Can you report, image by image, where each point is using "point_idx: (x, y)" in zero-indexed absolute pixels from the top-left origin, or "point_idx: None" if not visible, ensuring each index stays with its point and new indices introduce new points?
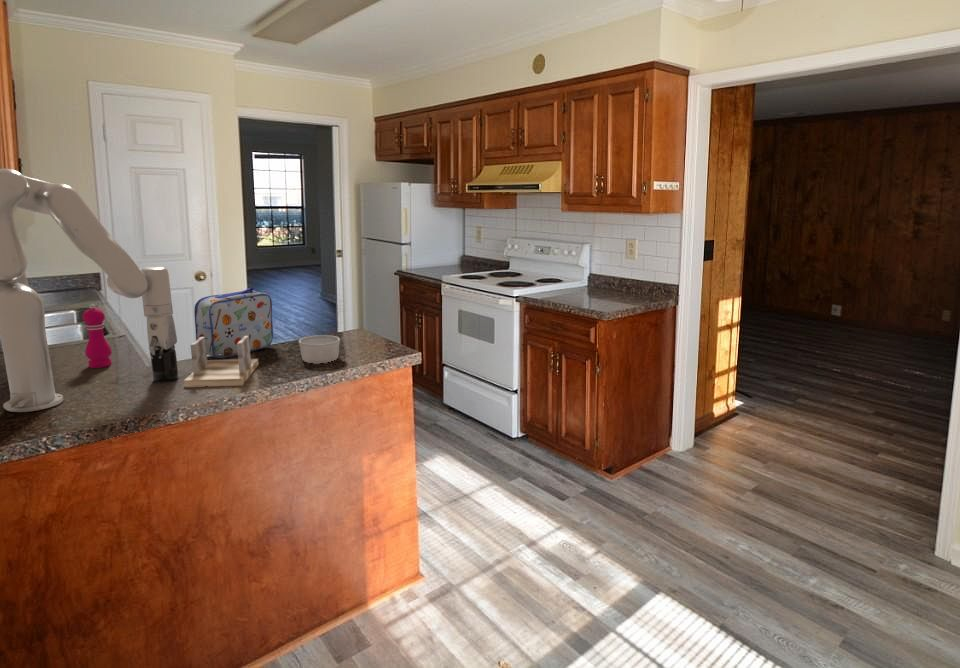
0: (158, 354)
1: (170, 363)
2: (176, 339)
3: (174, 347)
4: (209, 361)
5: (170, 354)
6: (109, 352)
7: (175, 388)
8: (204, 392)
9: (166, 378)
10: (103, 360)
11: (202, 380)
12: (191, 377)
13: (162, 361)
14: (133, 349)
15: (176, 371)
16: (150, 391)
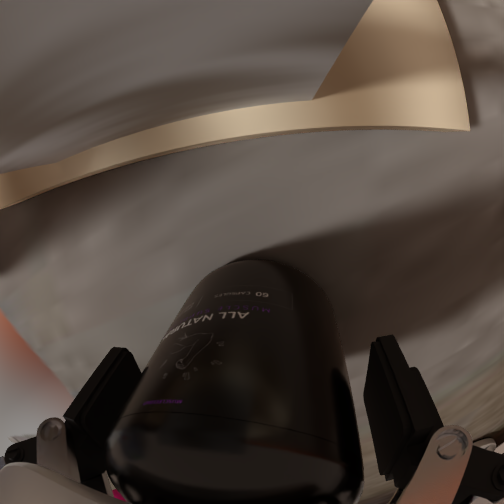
0: (470, 471)
1: (314, 354)
2: (3, 485)
3: (44, 425)
4: (5, 177)
5: (307, 438)
6: (124, 500)
7: (458, 182)
8: (489, 20)
9: (329, 306)
10: None
11: (439, 11)
12: (400, 90)
13: (421, 404)
14: (36, 435)
15: (254, 280)
16: (474, 296)
